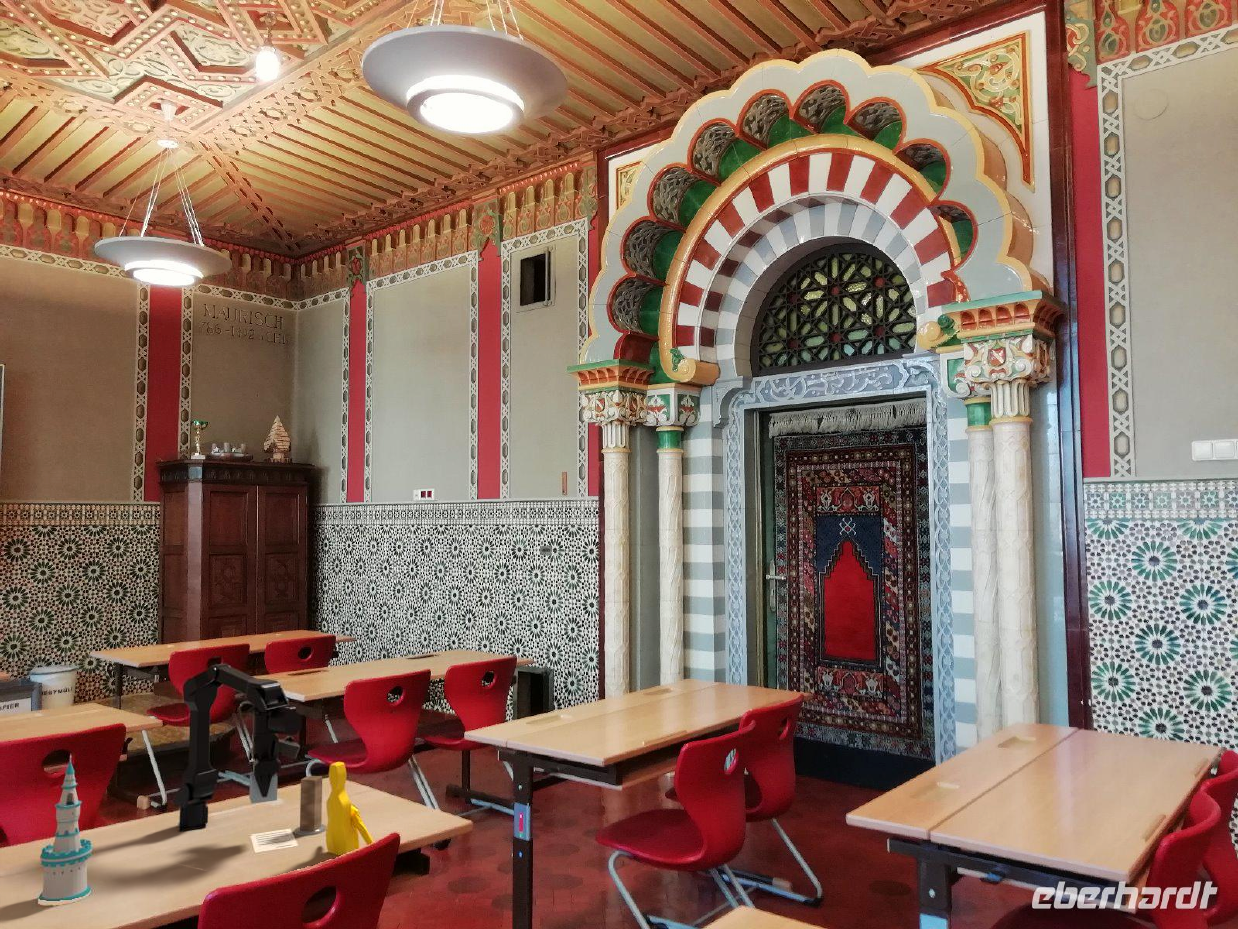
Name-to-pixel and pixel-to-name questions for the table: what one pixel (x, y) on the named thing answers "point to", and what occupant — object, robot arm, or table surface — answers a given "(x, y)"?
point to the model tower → (66, 849)
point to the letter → (273, 840)
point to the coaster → (320, 830)
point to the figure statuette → (342, 816)
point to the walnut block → (311, 803)
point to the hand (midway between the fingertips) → (263, 794)
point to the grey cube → (256, 794)
